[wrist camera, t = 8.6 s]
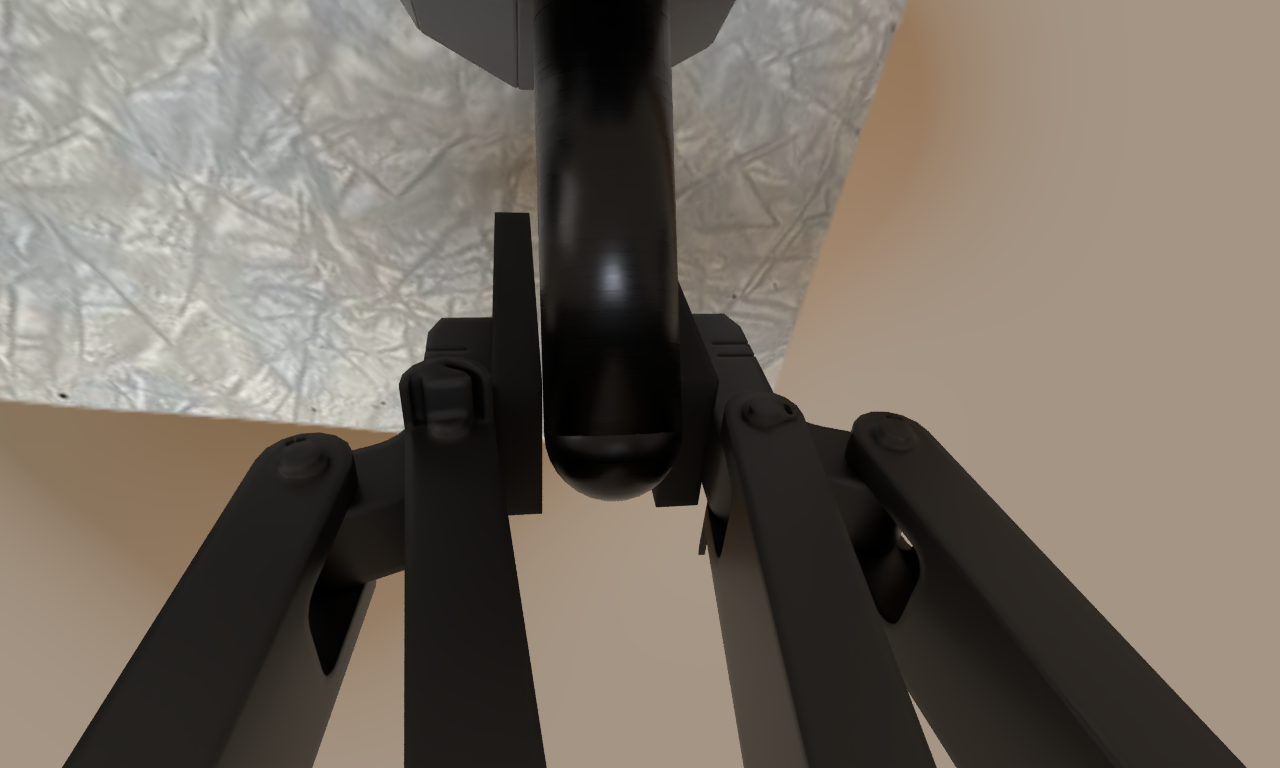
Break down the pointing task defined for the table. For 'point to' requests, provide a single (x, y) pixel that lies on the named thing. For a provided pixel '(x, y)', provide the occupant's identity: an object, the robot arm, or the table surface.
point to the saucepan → (598, 214)
